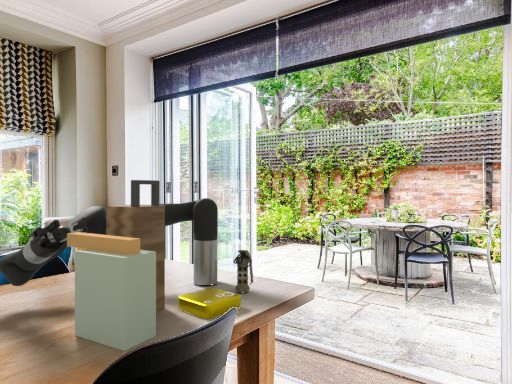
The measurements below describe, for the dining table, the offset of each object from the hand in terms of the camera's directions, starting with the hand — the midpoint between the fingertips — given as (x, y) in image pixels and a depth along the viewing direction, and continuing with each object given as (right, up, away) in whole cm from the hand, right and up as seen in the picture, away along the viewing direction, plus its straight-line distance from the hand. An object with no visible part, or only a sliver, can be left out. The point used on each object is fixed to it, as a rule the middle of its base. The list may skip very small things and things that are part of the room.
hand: (73, 221), depth 101 cm
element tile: (+36, -29, +14) cm, 48 cm away
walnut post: (+14, -28, +11) cm, 33 cm away
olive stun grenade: (+46, -28, +31) cm, 62 cm away
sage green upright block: (+15, -28, -8) cm, 33 cm away
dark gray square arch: (+17, +4, +9) cm, 20 cm away
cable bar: (+10, -7, -5) cm, 13 cm away
